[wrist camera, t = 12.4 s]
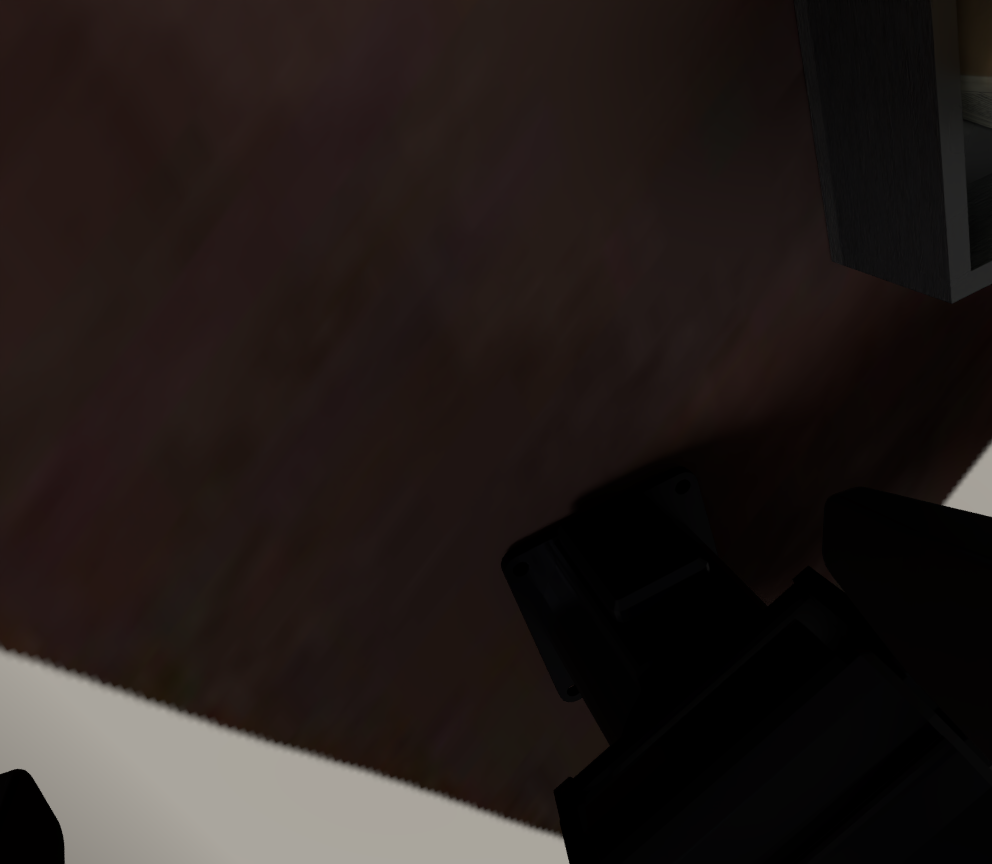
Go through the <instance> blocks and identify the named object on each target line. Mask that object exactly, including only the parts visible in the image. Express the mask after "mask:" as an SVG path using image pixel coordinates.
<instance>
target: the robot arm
mask: <svg viewBox="0 0 992 864" xmlns="http://www.w3.org/2000/svg"><path fill="white" fill-rule="evenodd" d="M681 480H684V482H683V483H682V485H681V486H680V487H678V488H675V487H676V485H677V483H678V482H680V481H681ZM822 554H823V559H824V562H825V565H826V567H827V569H828V570H829V572H830V573H831V575H832V576H833V577H834V579H835V580H836V581H837V583H838V584H839V585H840V586H841V588H842V589H843V590H844V592H845V593H844V592H843V591H842V590H840V589H839V588H838V587H836V586H835V585H834V584H832V583H831V582H830V581H828V580H827V579H826V578H824V577H823V576H821V575H820V574H819V573H817V572H816V571H815V570H813V569H812V568H811V567H809V566H807V567H806V568H805V569H804V570H803V571H801V572H800V573H799V574H798V575H797V576H796V577H795V578H793V579H792V580H793V582H794V584H793V585H792V586H790V587H789V588H788V589H787V590H786V591H785V592H784V593H783V594H781V595H780V596H779V597H778V598H777V599H776V600H775V601H773V602H772V603H771V604H770V605H769V606H767V605H766V604H765V603H764V602H763V601H762V600H761V599H760V598H759V597H758V596H757V595H756V594H755V593H754V592H753V591H752V590H751V589H750V588H749V587H748V586H747V585H746V584H745V583H744V582H743V581H742V580H741V579H740V578H739V577H738V576H737V575H736V574H735V573H734V572H733V571H732V570H731V569H730V568H729V567H728V566H727V565H726V564H725V563H724V562H723V561H722V560H721V559H720V558H719V557H718V554H717V550H716V546H715V543H714V539H713V535H712V532H711V528H710V524H709V521H708V517H707V513H706V510H705V506H704V502H703V499H702V495H701V491H700V488H699V484H698V480H697V478H696V477H695V475H694V474H693V473H692V472H691V471H689V470H688V469H687V468H685V467H680V466H678V467H675V468H672V469H670V470H668V471H666V472H664V473H662V474H660V475H658V476H656V477H654V478H652V479H650V480H648V481H646V482H644V483H642V484H640V485H639V486H637V487H635V488H633V489H630V490H628V491H626V492H624V493H622V494H620V495H618V496H616V497H614V498H612V499H610V500H608V501H606V502H604V503H602V504H600V505H598V506H596V507H594V508H592V509H590V510H588V511H586V512H584V513H582V514H581V515H579V516H577V517H575V518H573V519H571V520H569V521H567V522H565V523H563V524H561V525H559V526H557V527H555V528H553V529H551V530H549V531H547V532H545V533H544V534H542V535H540V536H538V537H536V538H534V539H532V540H530V541H528V542H526V543H524V544H522V545H520V546H518V547H516V548H514V549H512V550H510V551H509V552H508V553H506V554H505V556H504V557H503V558H502V562H501V568H502V571H503V573H504V575H505V578H506V580H507V582H508V584H509V586H510V589H511V591H512V593H513V595H514V597H515V600H516V602H517V604H518V606H519V608H520V611H521V613H522V615H523V617H524V619H525V622H526V624H527V626H528V628H529V630H530V632H531V635H532V637H533V639H534V641H535V643H536V646H537V648H538V650H539V652H540V654H541V657H542V659H543V661H544V663H545V665H546V668H547V670H548V672H549V674H550V676H551V679H552V681H553V683H554V685H555V687H556V689H557V691H558V693H559V695H560V697H561V698H562V699H563V701H566V702H574V701H577V700H579V699H581V698H583V699H584V701H585V703H586V705H587V706H588V708H589V710H590V712H591V713H592V715H593V717H594V719H595V720H596V722H597V724H598V726H599V727H600V729H601V731H602V733H603V734H604V736H605V738H606V740H607V741H608V743H609V745H610V746H609V747H608V748H607V749H606V750H605V751H604V752H603V753H601V754H600V755H599V756H598V757H597V758H596V759H595V760H593V761H592V762H591V763H590V764H589V765H588V766H587V767H586V768H584V769H583V770H582V771H581V772H580V773H579V774H578V775H576V776H575V777H574V778H572V777H568V778H567V779H566V780H565V781H564V782H563V783H562V784H560V785H559V786H558V787H557V788H556V789H555V790H554V796H555V800H556V804H557V809H558V813H559V817H560V826H561V830H562V834H563V838H564V843H565V847H566V851H567V855H568V859H569V863H570V864H992V517H989V516H985V515H981V514H977V513H972V512H968V511H964V510H959V509H955V508H951V507H947V506H943V505H938V504H934V503H930V502H926V501H921V500H917V499H913V498H908V497H904V496H900V495H896V494H891V493H887V492H883V491H879V490H874V489H870V488H866V487H855V488H851V489H848V490H845V491H842V492H839V493H836V494H833V495H832V496H830V497H829V498H828V499H827V501H826V503H825V508H824V524H823V543H822ZM520 562H524V564H523V566H522V567H520V568H519V569H513V568H514V566H515V565H516V564H518V563H520ZM573 684H575V685H574V686H573V687H571V688H569V687H570V686H571V685H573ZM64 859H65V858H64V840H63V834H62V830H61V827H60V824H59V822H58V820H57V818H56V816H55V815H54V813H53V812H52V810H51V808H50V806H49V805H48V803H47V801H46V800H45V798H44V796H43V795H42V793H41V791H40V789H39V788H38V786H37V784H36V783H35V781H34V779H33V778H32V777H31V775H30V774H29V773H28V772H27V771H25V770H22V769H14V770H11V771H9V772H6V773H3V774H0V864H65V860H64Z"/></svg>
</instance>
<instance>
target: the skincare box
mask: <svg viewBox="0 0 992 864" xmlns="http://www.w3.org/2000/svg"><path fill="white" fill-rule="evenodd" d="M956 6H957V24H958V42H959V60H960V79H961V97H962V115H963V119H966V120H969V121H972V122H975V123H978V124H980V125H983V126H986V127H989V128H992V0H956Z"/></svg>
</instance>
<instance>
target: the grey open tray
mask: <svg viewBox="0 0 992 864" xmlns="http://www.w3.org/2000/svg"><path fill="white" fill-rule="evenodd" d="M794 5H795V11H796V18H797V25H798V32H799V39H800V46H801V53H802V59H803V66H804V73H805V80H806V87H807V94H808V101H809V107H810V114H811V121H812V128H813V135H814V142H815V149H816V155H817V162H818V169H819V176H820V183H821V190H822V197H823V203H824V210H825V217H826V224H827V231H828V238H829V244H830V251H831V258H832V261H833V262H835V263H838V264H841V265H844V266H847V267H850V268H852V269H855V270H858V271H861V272H864V273H866V274H869V275H872V276H875V277H878V278H881V279H883V280H886V281H889V282H892V283H895V284H898V285H900V286H903V287H906V288H909V289H912V290H914V291H917V292H920V293H923V294H926V295H929V296H931V297H934V298H937V299H940V300H943V301H946V302H948V303H951V304H952V303H954V302H956V301H958V300H960V299H962V298H964V297H966V296H968V295H970V294H972V293H974V292H976V291H978V290H980V289H982V288H984V287H986V286H988V285H990V284H992V128H989V127H986V126H983V125H980V124H978V123H975V122H972V121H969V120H966V119H963V115H962V97H961V79H960V60H959V42H958V24H957V6H956V0H794Z"/></svg>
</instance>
